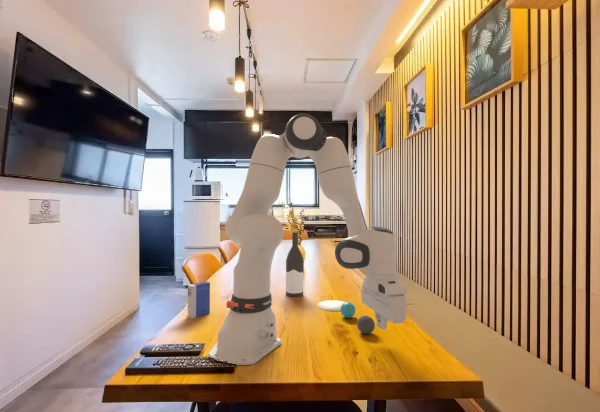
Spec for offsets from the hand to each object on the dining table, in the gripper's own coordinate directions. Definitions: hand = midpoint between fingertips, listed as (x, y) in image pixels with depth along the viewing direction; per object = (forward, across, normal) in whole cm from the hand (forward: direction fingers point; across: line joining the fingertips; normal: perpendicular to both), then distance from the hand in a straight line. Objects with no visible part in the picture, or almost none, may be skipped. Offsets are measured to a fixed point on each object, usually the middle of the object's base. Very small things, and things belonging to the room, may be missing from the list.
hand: (381, 327), depth 98 cm
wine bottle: (+5, -58, -12) cm, 59 cm away
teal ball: (+2, -24, 0) cm, 24 cm away
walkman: (+4, -40, -53) cm, 67 cm away
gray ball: (+2, -9, -1) cm, 9 cm away
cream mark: (+5, -38, 0) cm, 38 cm away
